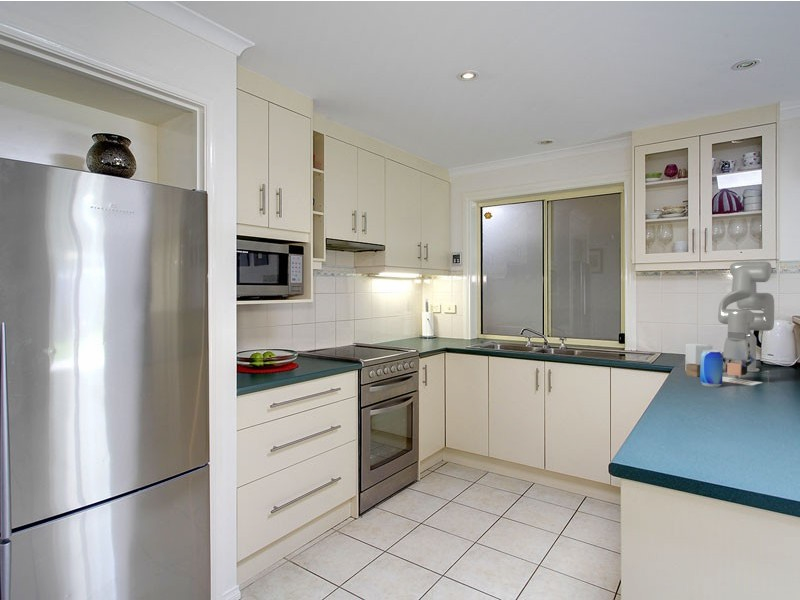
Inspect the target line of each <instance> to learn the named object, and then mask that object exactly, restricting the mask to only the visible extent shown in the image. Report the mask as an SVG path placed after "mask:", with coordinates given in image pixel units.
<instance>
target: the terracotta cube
mask: <svg viewBox="0 0 800 600" xmlns="http://www.w3.org/2000/svg"><path fill="white" fill-rule="evenodd" d="M742 367H743V364H742V363H737V362H734V361H731V362H729V363H727V371H726V374H727V375H731V376H738V377H741V376H744V375H742Z"/></svg>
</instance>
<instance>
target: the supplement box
mask: <svg viewBox="0 0 800 600" xmlns="http://www.w3.org/2000/svg"><path fill="white" fill-rule="evenodd" d="M703 350H713V345H710V344H705V343H685V359H684V360H685V361H684V362H685V366H684V367H685V369H684V370H685V372H686V364H699V365H700V364H701V354H702V352H703Z"/></svg>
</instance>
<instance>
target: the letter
mask: <svg viewBox="0 0 800 600" xmlns="http://www.w3.org/2000/svg"><path fill="white" fill-rule="evenodd" d="M722 382H727V383H733V384H741V385H744V386H745V385H746V386H756V385H759V384H763V382H762V381H756V380H755V381H754V380H748V379H742V378H735V377H727V376H722Z"/></svg>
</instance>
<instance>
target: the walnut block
mask: <svg viewBox="0 0 800 600" xmlns="http://www.w3.org/2000/svg"><path fill="white" fill-rule="evenodd" d="M685 376H687V377H695V378H700V365H699V364H686V371H685Z"/></svg>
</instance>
